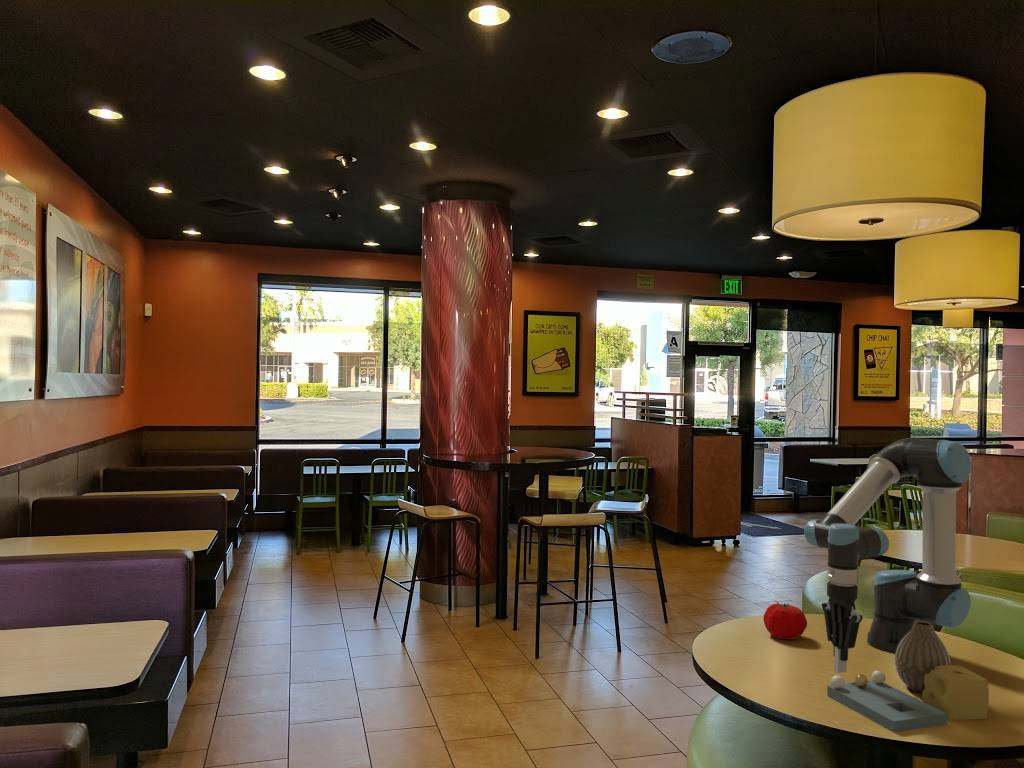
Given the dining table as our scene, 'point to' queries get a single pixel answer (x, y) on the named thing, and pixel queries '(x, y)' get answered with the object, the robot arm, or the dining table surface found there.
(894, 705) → the plate
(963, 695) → the cheese
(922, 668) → the vase
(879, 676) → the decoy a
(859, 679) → the ball
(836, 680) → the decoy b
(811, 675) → the dining table surface
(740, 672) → the dining table surface
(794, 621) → the tomato
